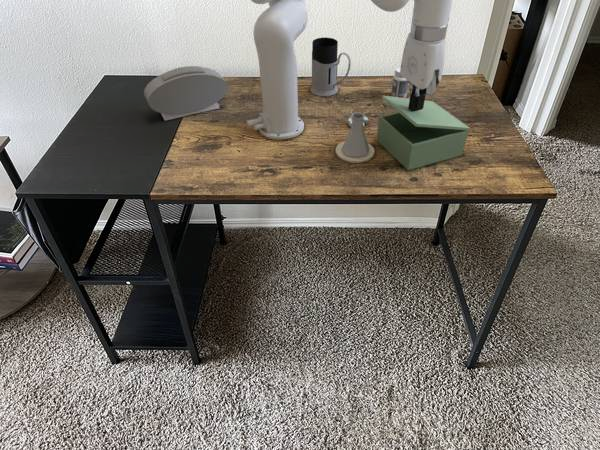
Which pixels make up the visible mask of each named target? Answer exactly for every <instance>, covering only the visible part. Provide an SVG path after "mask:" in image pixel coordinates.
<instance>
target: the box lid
mask: <svg viewBox="0 0 600 450" xmlns="http://www.w3.org/2000/svg"><path fill="white" fill-rule="evenodd" d="M381 100H383V101H384V102H386V103H387V104H388V105H389V106H390V107H392V108H393V109H394V110H395V111H396V112H399V113H400V114H401V115H403V116H404V117H405V118H406V119H407V120H409V121H410V122H411V123H412V124H414V125H415V126H418V127H430V128H443V129H456V130H468V131H470V127H469V126H468V125H466V124H465V123H464V122H462V121H461V120H460V119H458V118H457V117H455V116H454V115H453V114H451V113H450V112H449V111H448V110H446V109H445V108H443V107H441V106H440V105H439V104H437V103H436V102H434V101H433V100H427V99H425V101H424V107H423V109H422V110H418V111H414V112H412V111H411V110H410V109H409V108H408V107H409V100H410V98H407V97H405V98H400V97H392V96H391V95H382V96H381Z"/></svg>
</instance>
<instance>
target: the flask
mask: <svg viewBox="0 0 600 450" xmlns="http://www.w3.org/2000/svg"><path fill="white" fill-rule="evenodd" d="M364 116H366V115H365V114H364V112H359V111H355V112H352V113H351V115H350V117H352V125H351V127H350V129H349V131H348V133H347V136H346V138H345V140H344V141H345V143H344V145H343V147H342V151H343V152H344V154H345V155H347V156H353V157H360V156H365V155H367V154H368V152H369V145H368V143H369V142H368V139H367V136H366V133H365V127H364V128H363V119H364Z"/></svg>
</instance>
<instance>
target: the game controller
mask: <svg viewBox="0 0 600 450" xmlns="http://www.w3.org/2000/svg"><path fill="white" fill-rule="evenodd" d="M340 111H341V113H342V115H346V116H347V115H348V116H350V114H349V113H346V114H344V112H343V111H342V110H341V109H340V110H339V112H340ZM368 121H369V118H368V117H367V116H366V115H365V116H364V119H363V128H364V129H365V124H368ZM347 124H348V127H350V128H351V125H352V117H351V116H350V117H349V118H348V119H347Z"/></svg>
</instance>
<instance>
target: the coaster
mask: <svg viewBox="0 0 600 450" xmlns="http://www.w3.org/2000/svg"><path fill="white" fill-rule="evenodd" d="M344 143H345V140H344V141H342V142H339V143H338V144H337V145H336V147H335V155H336V157H337V158H338V159H340V160H342V161H344V162H346V163H352V164H360V163H361V164H363V163H366V162H368V161H370V160H372V159H373V158H374V156H375V151H376V150H375V148H374V146H373V145H372V144H371V143H369V142H368V145H369V152H368V154H367V155H365V156H360V157H353V156H347V155H345V154H344V152H343V151H342V147H343V145H344Z"/></svg>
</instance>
